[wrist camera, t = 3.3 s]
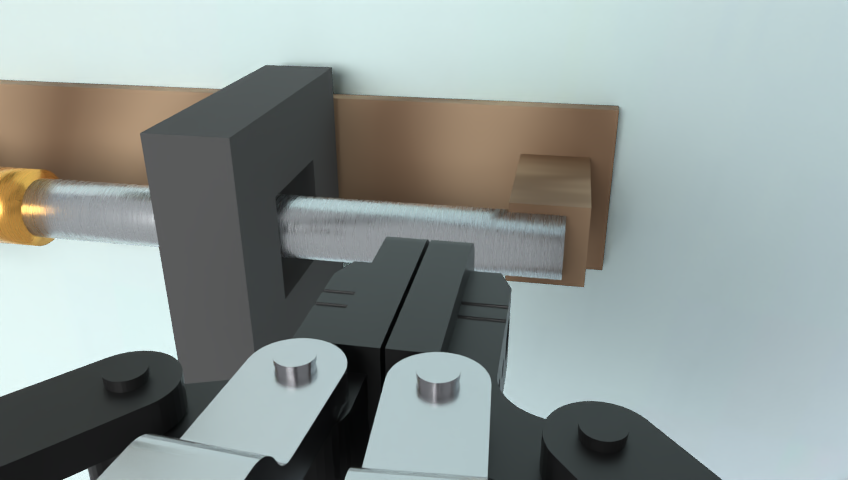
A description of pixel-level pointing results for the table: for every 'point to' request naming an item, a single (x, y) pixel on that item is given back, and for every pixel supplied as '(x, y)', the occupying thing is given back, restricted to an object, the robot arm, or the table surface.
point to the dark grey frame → (240, 213)
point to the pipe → (283, 223)
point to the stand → (358, 150)
